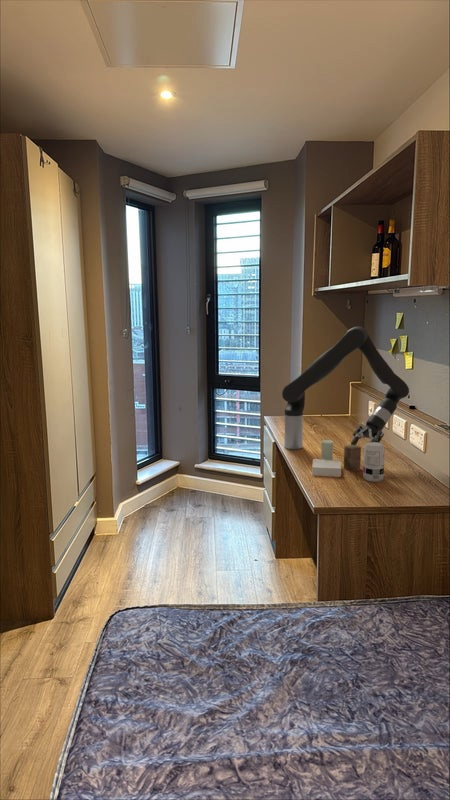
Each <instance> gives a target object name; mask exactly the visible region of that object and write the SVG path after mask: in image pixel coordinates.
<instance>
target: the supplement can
mask: <svg viewBox="0 0 450 800" xmlns="http://www.w3.org/2000/svg"><path fill="white" fill-rule="evenodd" d="M385 448H386V447H385V446H384V444H383V443H381V442H370V441H367V442H365V445H363V461H362V462H363V465H362V467H363V468H362V478H363V479H364V480H365V481H368V482H374V483H379V482H382V480H384V478H385V473H384V472H385V455H386V454H385V453H386V452H385V451H386V449H385Z"/></svg>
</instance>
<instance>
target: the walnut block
mask: <svg viewBox="0 0 450 800" xmlns="http://www.w3.org/2000/svg"><path fill="white" fill-rule="evenodd" d="M343 448H344V450H343V453H344V454H343V469H346V470H348V471H350V472H354V471H358V470H359V471H360V470H361V459H362V458H361V455H362V447H361V446H357V444H356V445H351V444H349V445H344V447H343Z"/></svg>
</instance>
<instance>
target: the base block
mask: <svg viewBox="0 0 450 800" xmlns="http://www.w3.org/2000/svg"><path fill="white" fill-rule="evenodd" d="M311 467H312V470H311V473H312V474H311V475H312V476H314V477H315V476H317V477H319V476H320V477H338V478H339V477H340V478H341V476H342V461H341V460H339V459H333V460H322V459H316V458H313V459H312V465H311Z"/></svg>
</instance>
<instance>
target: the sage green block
mask: <svg viewBox="0 0 450 800" xmlns="http://www.w3.org/2000/svg"><path fill="white" fill-rule="evenodd" d="M333 447H334V441H333V440H329V439H327V440H326V439H325V440H323V439H322V440H321V450H320V451H321V457H320V458H321V459H322V460H334V459H333V457H334V456H333V452H334V450H333V449H334V448H333Z"/></svg>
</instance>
